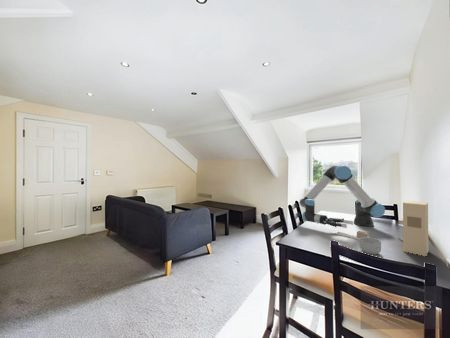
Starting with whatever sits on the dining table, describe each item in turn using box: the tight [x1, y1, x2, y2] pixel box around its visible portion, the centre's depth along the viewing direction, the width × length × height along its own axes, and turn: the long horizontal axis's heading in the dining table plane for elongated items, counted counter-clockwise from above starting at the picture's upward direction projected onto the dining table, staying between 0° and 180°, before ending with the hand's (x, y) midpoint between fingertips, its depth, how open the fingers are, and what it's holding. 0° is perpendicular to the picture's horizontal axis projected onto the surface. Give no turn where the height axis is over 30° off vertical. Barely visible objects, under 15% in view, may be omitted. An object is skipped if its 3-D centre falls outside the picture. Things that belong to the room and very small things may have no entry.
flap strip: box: [336, 230, 369, 241], centre depth 147 cm, size 4×22×6 cm, turn 39°
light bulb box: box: [397, 223, 403, 242], centre depth 139 cm, size 11×7×11 cm, turn 168°
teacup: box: [358, 236, 382, 256], centre depth 121 cm, size 14×11×8 cm
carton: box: [402, 200, 429, 257], centre depth 121 cm, size 12×10×30 cm
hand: (349, 224), depth 149 cm, fingers open, 13 cm apart
